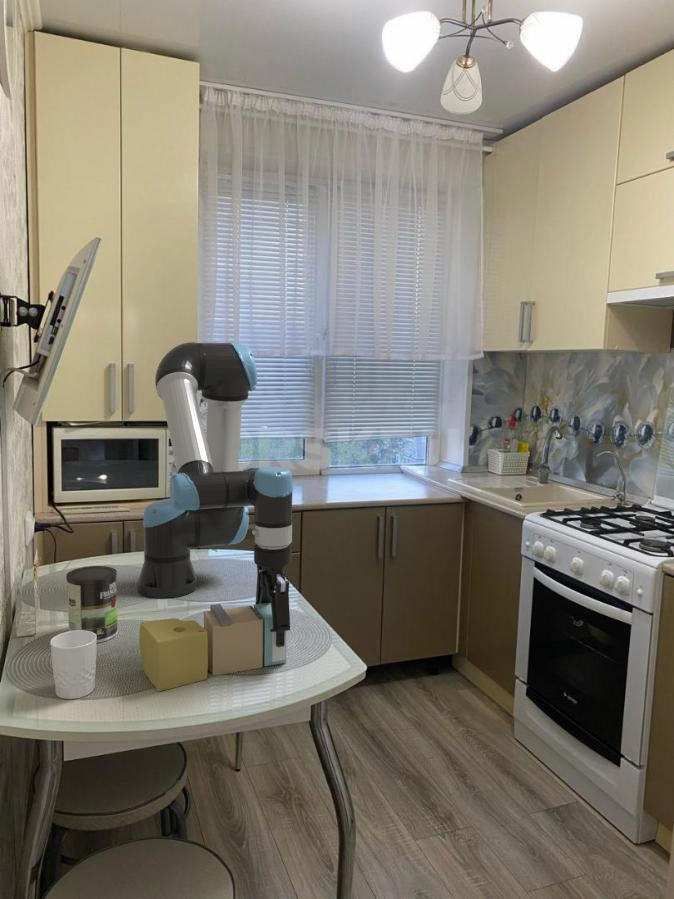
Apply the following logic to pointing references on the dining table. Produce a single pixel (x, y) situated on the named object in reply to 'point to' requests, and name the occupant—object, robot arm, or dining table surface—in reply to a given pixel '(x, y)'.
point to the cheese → (173, 652)
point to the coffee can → (93, 601)
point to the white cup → (74, 663)
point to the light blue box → (267, 632)
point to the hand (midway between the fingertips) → (271, 650)
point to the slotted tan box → (233, 639)
